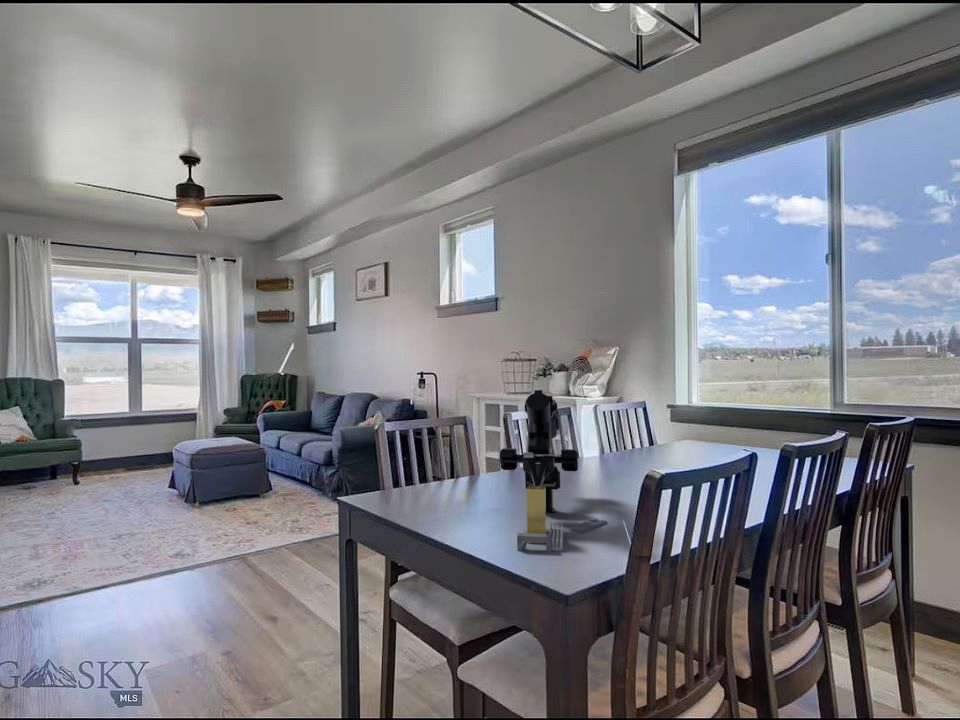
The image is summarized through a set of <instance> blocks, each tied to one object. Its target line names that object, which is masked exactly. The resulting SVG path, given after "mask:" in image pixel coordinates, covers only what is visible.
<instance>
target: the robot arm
mask: <svg viewBox="0 0 960 720" xmlns="http://www.w3.org/2000/svg"><path fill="white" fill-rule="evenodd" d="M553 398H554V397H553V395H547V394H545V393H543V389H535V390H534V393H532V394H529V395H528V397H527V398H526V400H525V402H524V412H525V413H526V414H527V420H528V433H527V448H526V449H527V452H526V451H525V452H523V454H518V453H517V448H508V447H507V448H504V447H503V448H501V449H500V451H499V456H498V458H499V464H500V469H501V470H503V471H515V470H516V469H517V468H518V464H522V471H523V472H524V479H525V480H524V481H525V490H527V487H528V486H546V514H557V509H555V507H554V497H553V495H554V494H553V493H554V492H553V491H554V490H556V491H558V489H561V472H560V471H559V468H558V466H557V465H556V464H561V469H562V471H564V472H577V471H578V468H579V467H578V465H579V463H578V461H579V458H578V456H579V455H578V453H579V452H578V450H577V449H573V448H571V449H569V448H561V449H560V454H554V453H553V452H552V450H551V449H552V447H551V446H552V440H553V439H555V438H556V437H557V435H558V431H560V412H559V411H558V407H559V406H558V403H557V402H556V400H555V399H553Z"/></svg>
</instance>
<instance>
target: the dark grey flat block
mask: <svg viewBox="0 0 960 720" xmlns="http://www.w3.org/2000/svg"><path fill="white" fill-rule="evenodd" d="M607 524H608V521H607V520H605V519H601V520H600V519H598V518H595V517H592V518H591V519H589V520H586V521H583V522H581V523H578V524H576V525H574V526H571V527H570V528H569V530H570V531H571V532H576V533H580V534H586V533H589V532H591V531H594V530H596V529H598V528H600V527H602V526H604V525H607Z"/></svg>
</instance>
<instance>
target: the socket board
mask: <svg viewBox="0 0 960 720" xmlns="http://www.w3.org/2000/svg"><path fill="white" fill-rule="evenodd" d="M549 526H550V527H549V530H548V531H547V533H546V534H532V533H527V530H523V533H522V532H518V533H517V535H516V538H517V539H516V540H517V541H516V543H517V544H516V546H517V547H516V548H517V550H516V551H519V552H520V551H521V552H522V551H523V548H524V546H525V543H527V542H540V543H539V544H545V545H546V546H545V548H546V549H545V550H546V551H545V552H546V553H551V552H552V551H559V552H561V551H562V552H563V546H564V545H563V544H564V529H563V523H562V522H561V524H560V523H559V522H557V525H556V522H554V523H552V522H550V525H549Z"/></svg>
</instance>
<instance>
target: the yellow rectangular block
mask: <svg viewBox="0 0 960 720" xmlns="http://www.w3.org/2000/svg"><path fill="white" fill-rule="evenodd" d="M526 521H527V522H526V523H527V524H526V526H527V527H526V531H527V533H532V534H547V513H546V486H528V487H527V489H526ZM526 543H527V544H541V543H540V542H526Z"/></svg>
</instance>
